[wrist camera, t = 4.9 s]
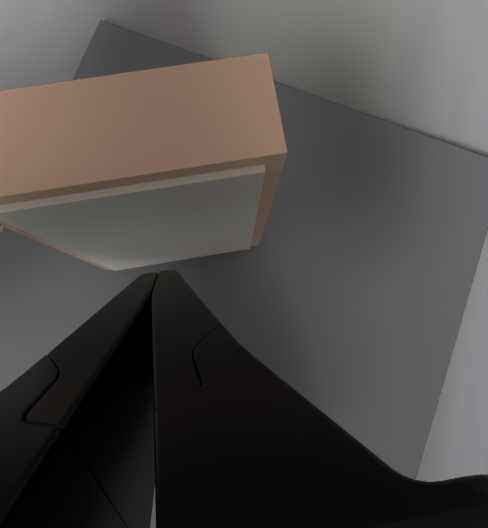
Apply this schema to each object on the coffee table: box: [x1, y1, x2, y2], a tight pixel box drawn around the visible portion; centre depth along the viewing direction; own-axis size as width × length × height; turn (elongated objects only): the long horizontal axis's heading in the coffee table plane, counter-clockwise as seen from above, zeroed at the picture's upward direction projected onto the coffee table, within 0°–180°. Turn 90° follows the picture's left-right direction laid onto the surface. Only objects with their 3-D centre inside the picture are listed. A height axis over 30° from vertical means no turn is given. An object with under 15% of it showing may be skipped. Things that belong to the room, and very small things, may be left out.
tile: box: [0, 52, 287, 271], centre depth 12 cm, size 2×6×9 cm, turn 100°
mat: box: [0, 20, 488, 528], centre depth 16 cm, size 18×20×1 cm
